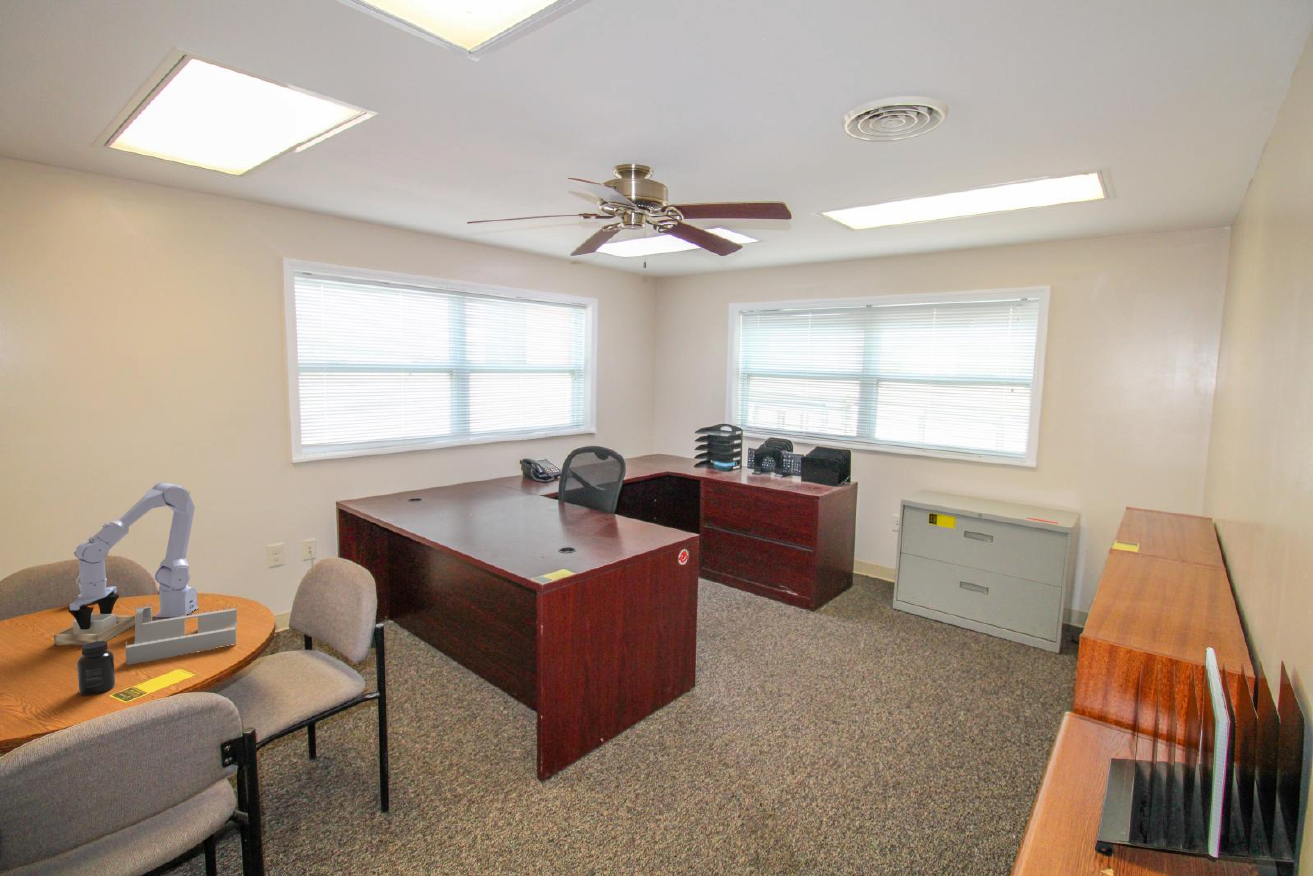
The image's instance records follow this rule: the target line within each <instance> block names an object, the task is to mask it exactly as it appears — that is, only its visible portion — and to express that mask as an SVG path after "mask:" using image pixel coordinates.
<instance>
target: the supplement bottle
mask: <svg viewBox="0 0 1313 876" xmlns="http://www.w3.org/2000/svg"><path fill="white" fill-rule="evenodd" d="M81 655H82V656H81V657H79V658H78V660H77V662H76V665H77V679H78V680H77V681H78V691H79V694H80V695H83V696H93V695H100V694H103V693H105V692H107V691H109V690H112V688H113V687H114V686H115V684H116V672H115V656H114V653H113V652H112V651H110V650H109V646H108V641H97V642H92V643H88V644H86V645H82V646H81Z"/></svg>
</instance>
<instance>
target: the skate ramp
mask: <svg viewBox="0 0 1313 876" xmlns="http://www.w3.org/2000/svg"><path fill="white" fill-rule="evenodd" d="M141 604H143V605H141ZM141 604H140V607H139V606H138V604H136V606H135V607H136V609H135V615H134V616H135V626H134V641H132V642H130V644H128V642H127V641H125V658H126V659H125V660H126V661H125V662H126V666H130V665H134V664H140V663H142V664H143V663H147V662H152V661H158V660H163V659H168V658H169V659H170V658H174V657H178V656H177V655H180V656H185V655H189V654H188V653H191V654H194V653H193V652H196V653H198V652H197V651H202V650H207V651H210V650H209V649H213V650H215V649H214V648H216V647H220V646H227V645H231V644H235V643H236V644H237V639H236V627H237V628H238V617H237V616H238V615H237V611H238V609H237V605H234V607H235V608H234V607H233V608H231V607H232V605H229V606H228V608H229V609H228V608H227V609H224V608H225V606H222V607H223V608H222V607H221V610H218V608H215V611H214V610H213V611H211V610H212V607H211V608H209V609H210V610H209V609H208V612H205V610H203V611H202V612H200V613H198V612H199V610H198V609H196V611H197V612H196V611H195V613H196V614H193V612H192V611H190V612H191V613H189V614H188V615H186V616H185V614H183V615H184V616H182V617H171V616H170V617H168V618H165V617H162V618H163V619H162V618H161V619H159V618H160V617H159V616H157V617H156V619H155V620H153V609H152V608H153V607H152V603H151V602H148V605H147V606H144V603H141ZM141 606H143V607H141ZM222 609H223V610H222ZM171 615H172V614H171ZM177 615H178V613H177ZM177 615H176V616H177ZM164 616H165V615H164ZM193 618H197V631H196V632H197V633H195V631H193V632H190V634H187V632H186V619H193ZM226 627H232V628H226ZM224 628H226V629H224ZM219 629H220V630H219ZM202 632H203V633H202ZM184 634H185V635H184ZM131 643H132V644H131ZM202 652H203V651H202ZM184 654H185V655H184Z"/></svg>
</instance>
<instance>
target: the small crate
mask: <svg viewBox="0 0 1313 876" xmlns="http://www.w3.org/2000/svg"><path fill="white" fill-rule="evenodd" d="M116 616H117V613H112V614H100V613H92V614H91V623H90V629H87V630H81V629H80V627H79V625H78V623H77V621H76V619H74V620H72V626H73V634H99V633H101V632H102V631H104V630H106V629H108V628H110V627H112V626H114V625H116V624H117V623H116Z"/></svg>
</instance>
